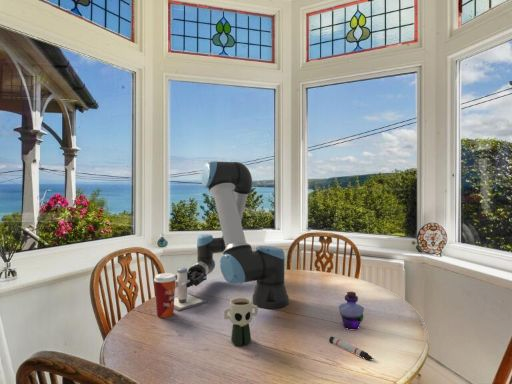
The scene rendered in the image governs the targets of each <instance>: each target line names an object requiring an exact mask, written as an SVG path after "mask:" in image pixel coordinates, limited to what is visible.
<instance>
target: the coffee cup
mask: <svg viewBox="0 0 512 384" xmlns="http://www.w3.org/2000/svg"><path fill="white" fill-rule="evenodd" d="M175 276H176V275H175V274H174V273H171V272H164V273H163V272H162V273H158V274H155V276H154V279H153V282H154V291H155V293H154V294H155V304H156V314H157V315H156V317H158V318H162V319H167V318H170V317H172V316H173V315H174V311H175V309H174V297H176V296H175V295H176V294H175V293H176V292H175V291H176V288H175V280H176V277H175Z"/></svg>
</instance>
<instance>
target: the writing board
mask: <svg viewBox="0 0 512 384" xmlns="http://www.w3.org/2000/svg"><path fill="white" fill-rule="evenodd" d="M207 303H209V300H206V299H204V298H202V297H199V296H197V295H195V294H193V293H190V292H187V299H186V302H184V303H180V302H179V299H178V298H177V296H174V311H177V312H180V311H184V310H187V309H190V308H194V307H198V306H200V305H204V304H207Z"/></svg>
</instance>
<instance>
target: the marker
mask: <svg viewBox="0 0 512 384" xmlns="http://www.w3.org/2000/svg"><path fill="white" fill-rule="evenodd" d="M328 341H329V343H331V344H332V343H333V345H334V344H335V346H336V345H337V346H336V347H338V346H339V347H338V348H340V347H342V348H344V349H346V350H345V351H347V350H348V351H347V352H349V351H350V352H349V353H351V352H353V353H355V354H357V355H359V356H361V357H364V358H367V359H366V360H368V359H373V360H374V358H373V356H372V355H370V354H369V353H368V352H367V351H365V350H362V349H360V348H358V347H356V346H354V345H352V344H350V343H347V342H345V341H343V340H341V339H339V338H336V337H334V336H332V335H331V336H330V337H329V340H328ZM342 348H341V349H342ZM344 349H343V350H344ZM353 353H352V354H353ZM355 354H354V355H355ZM357 355H356V356H357ZM359 356H358V357H359ZM361 357H360V358H361Z"/></svg>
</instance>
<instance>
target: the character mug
mask: <svg viewBox="0 0 512 384" xmlns="http://www.w3.org/2000/svg"><path fill="white" fill-rule="evenodd" d="M258 308H259V307H258V306H257V305H254V304H253V302H252V299H250V298H246V297H236V298H233V299H231V300H229V308H227V307H226V308H224V309H223V319H225V320H229V321H230V322H231V323H232V324H233V325H232V328H231V340H230V341H231V342H232V344H233V345H236V346H242V345H243V343H244V345H248V344H250V343H251V342H252V339H251V338H252V337H251V335H252V334H251V328H250V323H251V322H252V321H253V317H254V316H258V312H259V311H258ZM253 310H254V312H253ZM228 312H229V315H228Z"/></svg>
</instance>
